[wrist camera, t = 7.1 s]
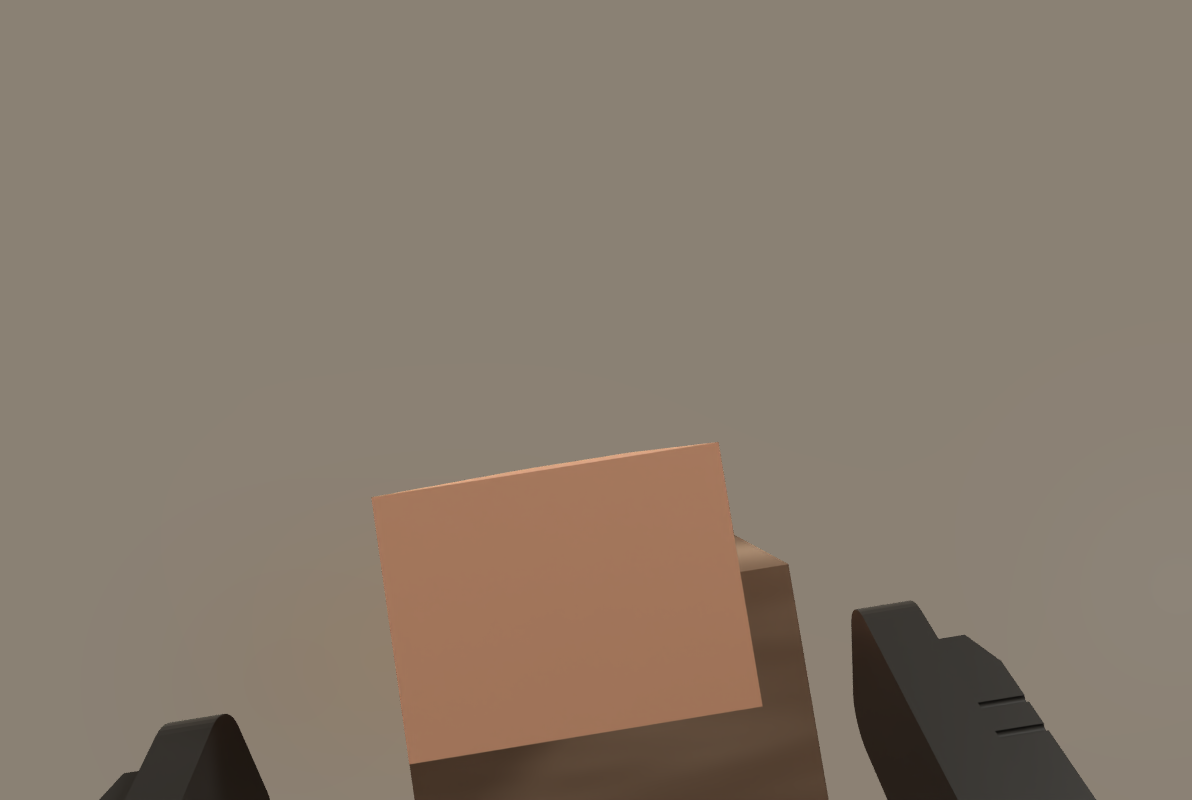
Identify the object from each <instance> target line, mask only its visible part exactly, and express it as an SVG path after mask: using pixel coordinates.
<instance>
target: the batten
mask: <svg viewBox="0 0 1192 800" xmlns="http://www.w3.org/2000/svg"><path fill="white" fill-rule="evenodd" d="M372 504H373V511H374V519H375V526H376V532H377V540H378V547H379V554H380V560H381V568H382V575H383V582H384V589H385V596H386V603H387V610H388V617H389V624H390V631H391V637H392V645H393V652H394V659H395V666H396V673H397V680H398V687H399V694H400V700H401V709H402V716H403V723H404V729H405V736H406V743H407V751H408V757H409V764H415V763H421V762H427V761H433V760H439V759H445V758H451V757H457V756H463V755H469V754H476V753H482V752H488V751H494V750H500V749H506V748H512V747H518V746H524V745H530V744H536V743H543V742H549V741H555V740H561V739H567V738H573V737H579V736H585V735H591V734H597V733H603V732H610V731H616V730H622V729H628V728H634V727H640V726H646V725H652V724H658V723H664V722H670V721H677V720H683V719H689V718H695V717H701V716H707V715H713V714H719V713H725V712H731V711H737V710H744V709H750V708H756V707H762V700H761V694H760V688H759V682H758V676H757V670H756V664H755V658H754V652H753V646H752V640H751V634H750V628H749V622H748V616H747V610H746V604H745V598H744V592H743V586H742V580H741V574H740V568H739V562H738V556H737V550H736V544H735V538H734V532H733V526H732V521H731V514H730V508H729V502H728V496H727V490H726V484H725V479H724V472H723V467H722V461H721V454H720V450H719V443H718V442H715V443H707V444H699V445H690V446H681V447H673V448H664V449H656V450H648V451H640V452H631V453H624V454H618V455H612V456H605V457H599V458H593V459H586V460H580V461H574V462H567V463H561V464H555V465H548V466H542V467H536V468H530V469H524V470H519V471H513V472H507V473H502V474H496V475H491V476H485V477H480V478H474V479H469V480H464V481H458V482H453V483H447V484H442V485H436V486H431V487H426V488H420V489H414V490H409V491H403V492H398V493H393V494H387V495H382V496H376V497H372Z"/></svg>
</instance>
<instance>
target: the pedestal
mask: <svg viewBox="0 0 1192 800" xmlns="http://www.w3.org/2000/svg"><path fill="white" fill-rule="evenodd" d="M734 538H735V544H736V550H737V556H738V562H739V568H740V574H741V580H742V586H743V592H744V598H745V604H746V610H747V616H748V622H749V628H750V634H751V640H752V646H753V652H754V658H755V664H756V670H757V676H758V682H759V688H760V694H761V700H762V707H756V708H750V709H744V710H737V711H731V712H725V713H719V714H713V715H707V716H701V717H695V718H689V719H683V720H677V721H670V722H664V723H658V724H652V725H646V726H640V727H634V728H628V729H622V730H616V731H610V732H603V733H597V734H591V735H585V736H579V737H573V738H567V739H561V740H555V741H549V742H543V743H536V744H530V745H524V746H518V747H512V748H506V749H500V750H494V751H488V752H482V753H476V754H469V755H463V756H457V757H451V758H445V759H439V760H433V761H427V762H421V763H415V764H410V770H411V777H412V784H413V791H414V798H415V800H828V794H827V788H826V783H825V777H824V770H823V765H822V759H821V753H820V747H819V741H818V735H817V729H816V724H815V718H814V713H813V706H812V700H811V694H810V689H809V683H808V677H807V671H806V665H805V659H804V653H803V647H802V641H801V636H800V630H799V624H798V619H797V612H796V607H795V600H794V595H793V589H792V583H791V577H790V571H789V565H788V564H787V563H785V562H783V561H781V560H780V559H778V558H776V557H774V556H772V555H770V554H768V553H767V552H765V551H763V550H761V549H759V548H757V547H756V546H754V545H752V544H750V543H748V542H746V541H744V540H743V539H741V538H739V537H737V536H735V535H734Z"/></svg>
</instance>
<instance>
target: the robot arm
mask: <svg viewBox="0 0 1192 800" xmlns="http://www.w3.org/2000/svg"><path fill="white" fill-rule="evenodd" d="M851 623H852V624H851V627H852V663H853V696H854V707H855V713H856V718H857V723H858V727H859V730H860V734H861V737H862V740H863V743H864V746H865V748H866V751H867V753H868V756H869V758H870V760H871V763H872V765H873V767H874V769H875V772H876V774H877V776H878V779H879V781H880V783H881V786H882V788H883V790H884V792H885V795H886V797H887V800H1096V799H1095V798H1094V796H1093V795H1092V793H1091V792H1090V790H1089V789H1088V787H1087V786H1086V784H1085V783H1084V782H1083V780H1082V778H1081V777H1080V775H1079V774H1078V773H1077V771H1076V770H1075V768H1074V767H1073V765H1072V764H1071V763H1070V761H1069V760H1068V758H1067V757H1066V755H1065V754H1064V752H1063V751H1062V749H1061V748H1060V746H1059V745H1058V743H1057V742H1056V740H1055V739H1054V738H1053V736H1052V735H1051V733H1050V732H1049V731H1046V730H1045V728H1044V723H1043V722H1042V720H1041V719H1040V717H1039V716H1038V714H1037V713H1036V711H1035V710H1034V708H1033V707H1032V706H1031V704H1030V702H1026V700H1025V697H1024V694H1023V692H1022V691H1021V690H1020V688H1019V686H1018V685H1017V684H1016V682H1015V681H1014V679H1013V678H1012V676H1011V675H1010V673H1009V672H1008V671H1007V669H1006V668H1005V666H1004V665H1003V663H1002V662H1001V661H1000V660H999V659H997V658H996V657H995V656H993V655H992V654H991V653H989V652H988V651H986V650H985V649H984V648H982V647H981V646H980V645H978V644H977V643H975V642H974V641H973V640H971V639H970V638H968V637H967V636H966V635H961V636H955V637H949V638H942V639H938V638H937V636H936V634H935V632H934V631H933V629H932V627H931V626H930V624H929V623H928V621H927V619H926V618H925V616H924V615H923V613H922V611H921V610H920V608H919V607H918V606H917V604H916V603H914V602H913V601H905V602H899V603H893V604H887V605H880V606H874V607H868V608H862V609H856V610H854V611H853V613H852V620H851ZM100 800H270V798H269V795H268V793H267V790H266V788H265V786H264V783H263V781H262V779H261V777H260V774H259V772H258V770H257V768H256V765H255V763H254V761H253V759H252V756H251V754H250V752H249V749H248V747H247V745H246V743H245V740H244V738H243V736H242V733H241V731H240V729H239V727H238V725H237V723H236V721H235V720H234V718H233V717H232V716H230V715H228V714H222V715H215V716H209V717H203V718H196V719H190V720H184V721H178V722H172V723H168V724H165V725H164V726H163V727H162V728H161V729H160V730H159V732H158V734H157V735H156V737H155V739H154V741H153V743H152V745H151V747H150V749H149V751H148V754H147V755H146V757H145V759H144V762H143V764H142V766H141V768H140V770H139V771H137V772H130V773H124V774H123V775H122V776H121V777H120V778H119V779H118V780H117V781H116V782H115V783H114V785H113V786H112V787H111V788H110V789H109V790H108V791H107V792H106V793H105V794H104V795H103V796H102V798H101V799H100Z"/></svg>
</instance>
